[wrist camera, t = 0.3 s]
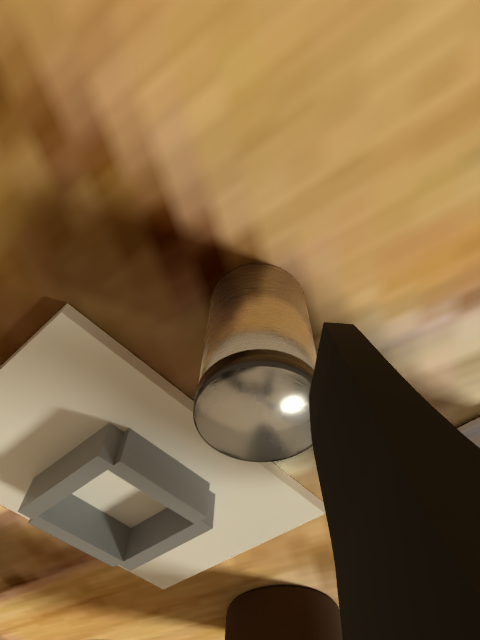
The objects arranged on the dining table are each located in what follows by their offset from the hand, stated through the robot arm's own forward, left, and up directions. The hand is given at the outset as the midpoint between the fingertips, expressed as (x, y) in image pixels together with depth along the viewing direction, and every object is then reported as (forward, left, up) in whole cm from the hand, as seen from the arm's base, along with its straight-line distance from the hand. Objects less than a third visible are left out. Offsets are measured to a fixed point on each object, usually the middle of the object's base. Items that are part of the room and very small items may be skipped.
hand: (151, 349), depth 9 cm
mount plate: (-9, +16, -10) cm, 21 cm away
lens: (-5, +2, -10) cm, 12 cm away
